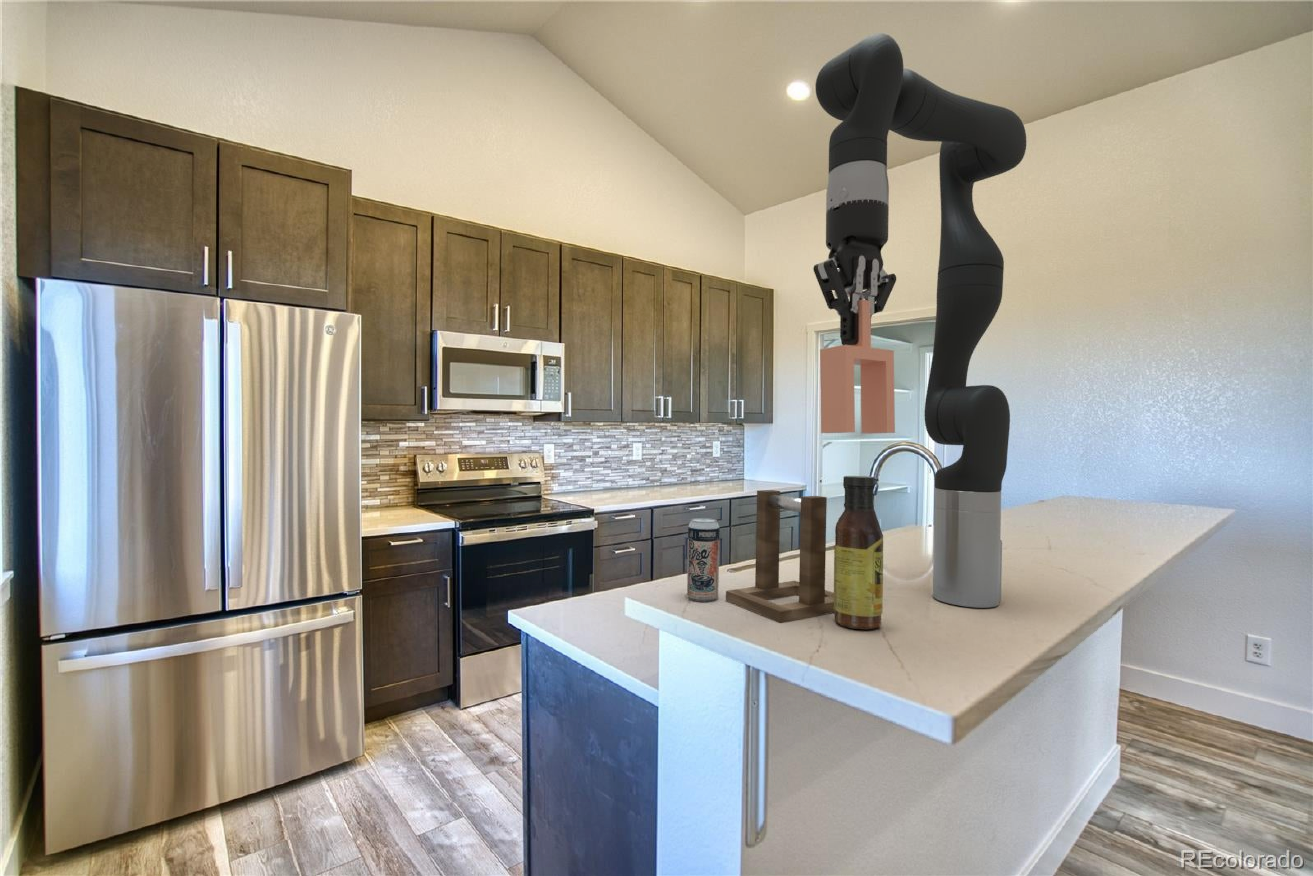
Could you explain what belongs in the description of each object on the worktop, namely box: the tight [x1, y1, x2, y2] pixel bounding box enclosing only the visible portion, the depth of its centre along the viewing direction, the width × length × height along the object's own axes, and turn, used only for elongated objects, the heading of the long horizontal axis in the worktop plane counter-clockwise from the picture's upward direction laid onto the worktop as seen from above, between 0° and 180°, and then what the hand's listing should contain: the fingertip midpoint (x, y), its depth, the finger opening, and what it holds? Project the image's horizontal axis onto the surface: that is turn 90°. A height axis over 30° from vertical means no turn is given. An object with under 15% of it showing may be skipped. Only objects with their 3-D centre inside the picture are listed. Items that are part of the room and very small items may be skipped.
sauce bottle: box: [833, 475, 884, 631], centre depth 81 cm, size 7×6×20 cm
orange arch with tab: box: [819, 299, 896, 435], centre depth 76 cm, size 9×4×16 cm, turn 122°
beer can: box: [686, 517, 720, 602], centre depth 92 cm, size 5×5×12 cm
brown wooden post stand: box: [725, 489, 835, 624], centre depth 89 cm, size 14×12×16 cm
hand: (855, 345), depth 76 cm, fingers closed on orange arch with tab, 1 cm apart
